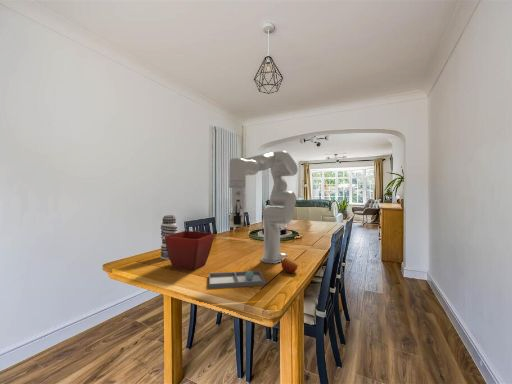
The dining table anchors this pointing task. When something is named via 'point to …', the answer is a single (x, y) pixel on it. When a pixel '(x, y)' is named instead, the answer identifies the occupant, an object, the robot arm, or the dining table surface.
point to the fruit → (289, 265)
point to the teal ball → (249, 275)
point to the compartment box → (234, 279)
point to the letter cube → (231, 220)
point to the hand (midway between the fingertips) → (236, 223)
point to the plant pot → (189, 249)
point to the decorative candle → (167, 232)
